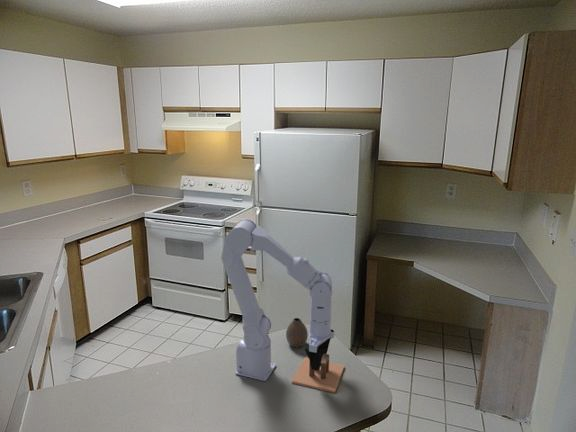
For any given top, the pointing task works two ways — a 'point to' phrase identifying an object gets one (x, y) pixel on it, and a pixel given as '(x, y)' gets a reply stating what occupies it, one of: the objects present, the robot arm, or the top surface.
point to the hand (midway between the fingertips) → (319, 361)
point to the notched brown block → (323, 367)
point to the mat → (319, 377)
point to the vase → (296, 333)
